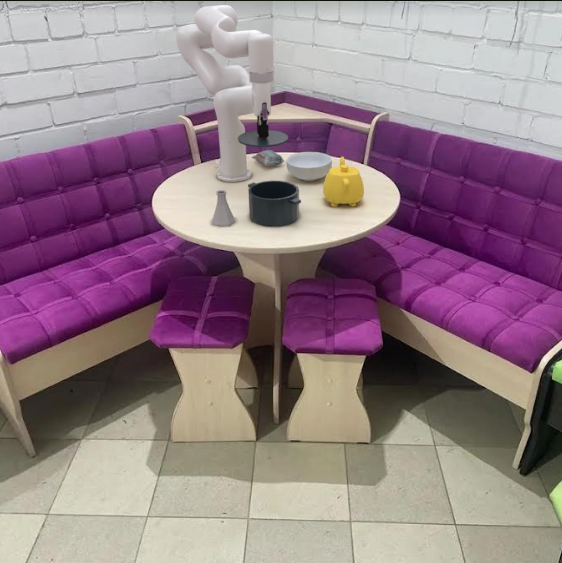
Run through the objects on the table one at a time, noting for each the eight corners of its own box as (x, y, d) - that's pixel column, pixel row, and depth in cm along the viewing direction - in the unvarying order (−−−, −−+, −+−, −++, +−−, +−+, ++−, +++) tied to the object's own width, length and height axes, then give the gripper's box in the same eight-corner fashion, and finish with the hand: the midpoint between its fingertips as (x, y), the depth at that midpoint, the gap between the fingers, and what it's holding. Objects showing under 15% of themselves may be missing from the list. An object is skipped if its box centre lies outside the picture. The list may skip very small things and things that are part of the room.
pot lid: (262, 152, 176) (261, 131, 173) (227, 141, 186) (226, 121, 183) (298, 140, 186) (298, 120, 183) (263, 130, 196) (263, 111, 193)
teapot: (359, 188, 198) (361, 154, 192) (366, 212, 181) (368, 175, 175) (321, 189, 198) (322, 155, 192) (324, 212, 181) (325, 176, 175)
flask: (231, 227, 173) (229, 197, 168) (208, 225, 174) (206, 195, 169) (237, 217, 179) (235, 188, 174) (215, 216, 180) (213, 186, 175)
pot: (280, 234, 169) (279, 206, 164) (233, 214, 181) (232, 188, 177) (315, 218, 178) (315, 191, 173) (268, 200, 191) (268, 174, 186)
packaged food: (265, 170, 215) (264, 158, 212) (251, 161, 224) (251, 149, 221) (285, 167, 218) (285, 154, 216) (270, 158, 227) (270, 146, 225)
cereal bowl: (292, 167, 217) (292, 149, 214) (335, 171, 213) (336, 153, 210) (281, 183, 204) (280, 164, 200) (326, 187, 200) (326, 168, 196)
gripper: (246, 72, 182) (248, 128, 191) (252, 83, 168) (254, 143, 178) (269, 71, 183) (270, 127, 193) (277, 82, 169) (278, 142, 179)
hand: (262, 134), depth 185 cm, fingers closed on pot lid, 2 cm apart
